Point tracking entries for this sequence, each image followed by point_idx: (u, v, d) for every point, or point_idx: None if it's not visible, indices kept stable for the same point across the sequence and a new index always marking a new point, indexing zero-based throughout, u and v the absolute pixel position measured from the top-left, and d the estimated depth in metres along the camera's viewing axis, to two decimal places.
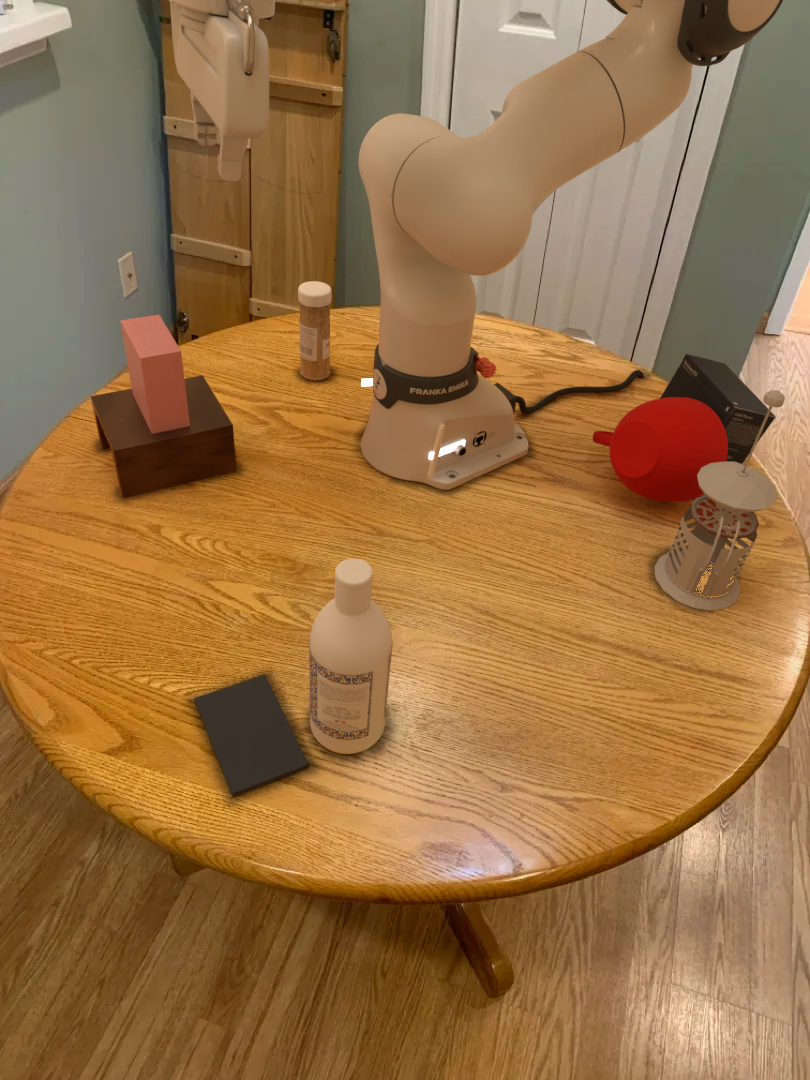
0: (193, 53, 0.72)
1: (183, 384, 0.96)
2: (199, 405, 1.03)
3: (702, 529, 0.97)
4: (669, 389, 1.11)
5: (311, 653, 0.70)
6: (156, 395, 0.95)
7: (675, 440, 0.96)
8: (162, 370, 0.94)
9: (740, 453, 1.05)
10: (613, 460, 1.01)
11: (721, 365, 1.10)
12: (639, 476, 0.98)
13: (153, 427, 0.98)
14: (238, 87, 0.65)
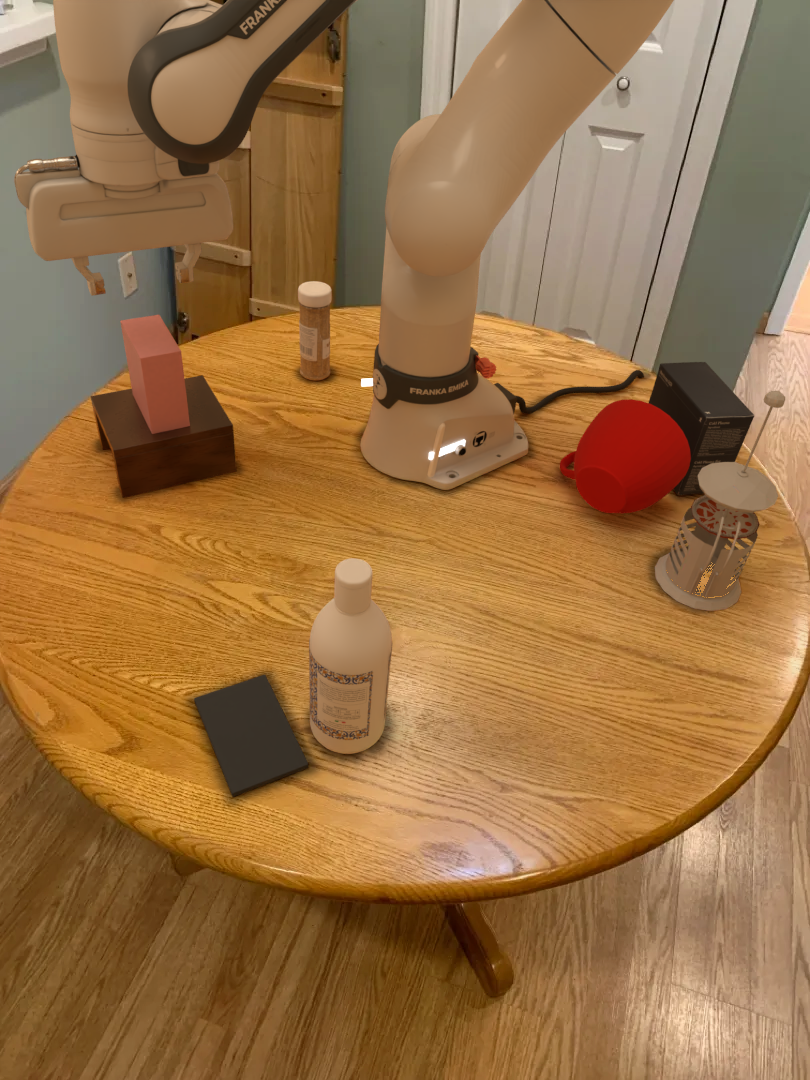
0: None
1: (183, 384, 0.96)
2: (199, 405, 1.03)
3: (703, 529, 0.97)
4: (652, 399, 1.12)
5: (311, 653, 0.70)
6: (156, 395, 0.95)
7: (629, 469, 0.96)
8: (162, 370, 0.94)
9: (727, 455, 1.05)
10: (588, 503, 1.02)
11: (700, 366, 1.09)
12: (618, 510, 0.99)
13: (153, 427, 0.98)
14: (27, 215, 0.82)
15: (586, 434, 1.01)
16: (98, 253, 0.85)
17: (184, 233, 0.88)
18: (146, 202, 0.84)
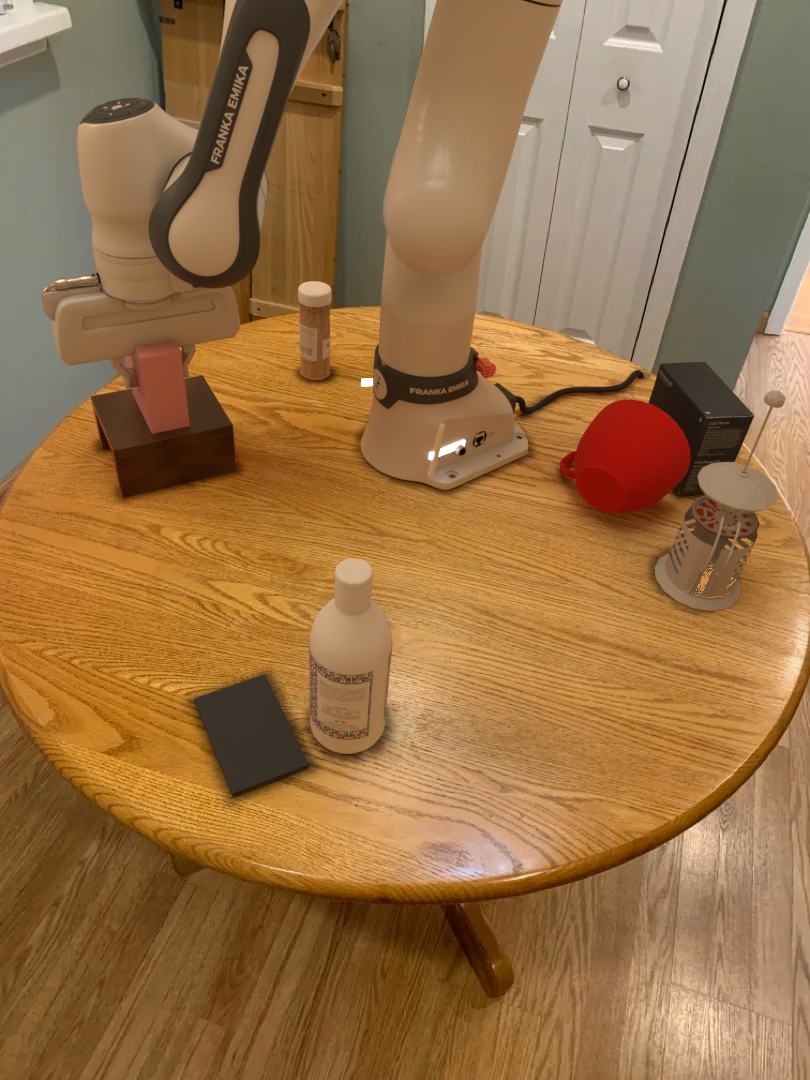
0: None
1: (183, 384, 0.96)
2: (199, 405, 1.03)
3: (703, 529, 0.97)
4: (652, 399, 1.12)
5: (311, 653, 0.70)
6: (156, 395, 0.95)
7: (629, 469, 0.96)
8: (162, 370, 0.93)
9: (727, 455, 1.05)
10: (588, 503, 1.02)
11: (700, 366, 1.09)
12: (618, 510, 0.99)
13: (153, 427, 0.98)
14: (52, 325, 0.90)
15: (586, 434, 1.01)
16: (117, 356, 0.93)
17: (195, 334, 0.96)
18: (161, 310, 0.92)
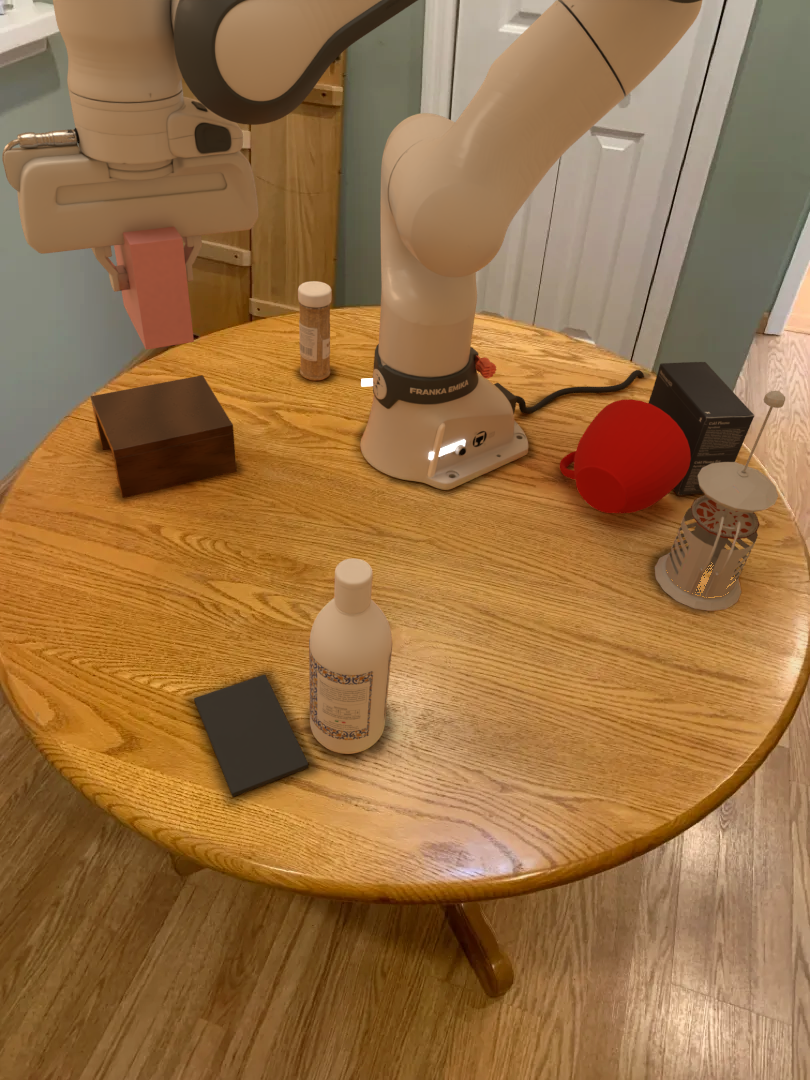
0: None
1: (185, 284, 0.76)
2: (199, 405, 1.03)
3: (703, 529, 0.97)
4: (652, 399, 1.12)
5: (311, 653, 0.70)
6: (150, 296, 0.75)
7: (629, 469, 0.96)
8: (158, 263, 0.73)
9: (727, 455, 1.05)
10: (588, 503, 1.02)
11: (700, 366, 1.09)
12: (618, 510, 0.99)
13: (147, 340, 0.78)
14: (18, 199, 0.70)
15: (586, 434, 1.01)
16: (101, 244, 0.73)
17: (201, 221, 0.76)
18: (157, 185, 0.72)
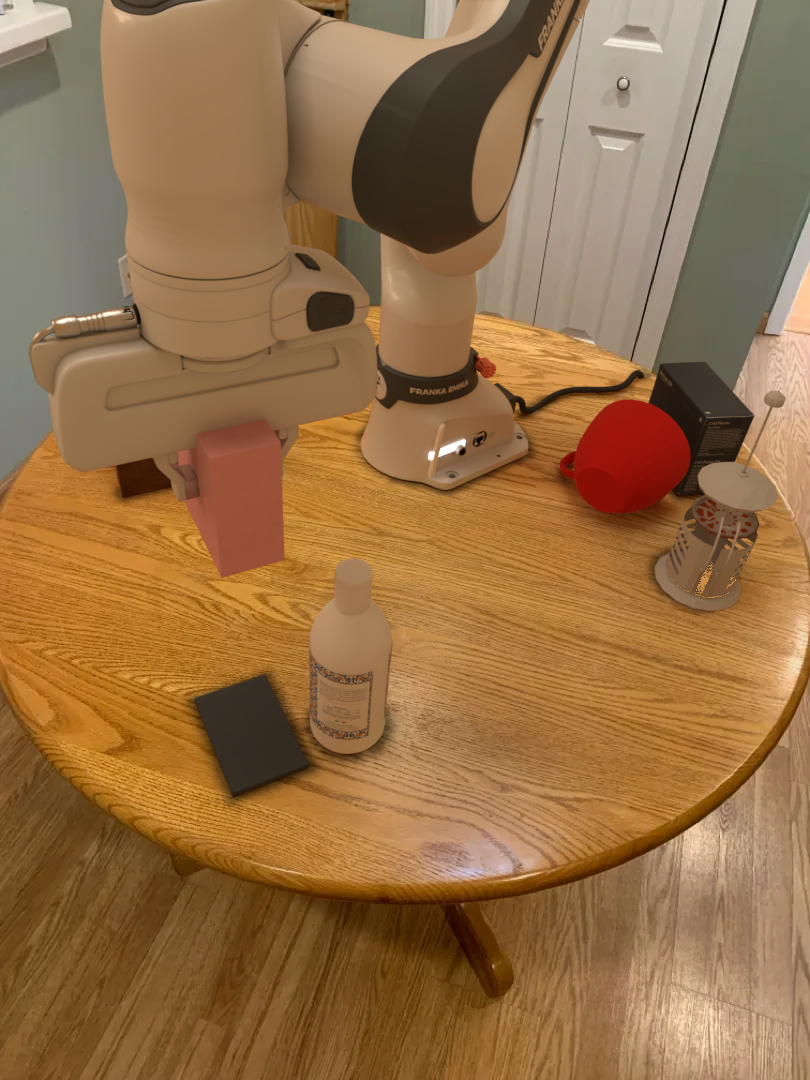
0: None
1: (279, 496, 0.54)
2: None
3: (703, 529, 0.97)
4: (652, 399, 1.12)
5: (311, 653, 0.70)
6: (232, 516, 0.54)
7: (629, 469, 0.96)
8: (247, 475, 0.52)
9: (727, 455, 1.05)
10: (588, 503, 1.02)
11: (700, 366, 1.09)
12: (618, 510, 0.99)
13: (224, 567, 0.56)
14: (50, 400, 0.49)
15: (586, 434, 1.01)
16: (166, 452, 0.52)
17: (302, 409, 0.54)
18: (247, 371, 0.51)
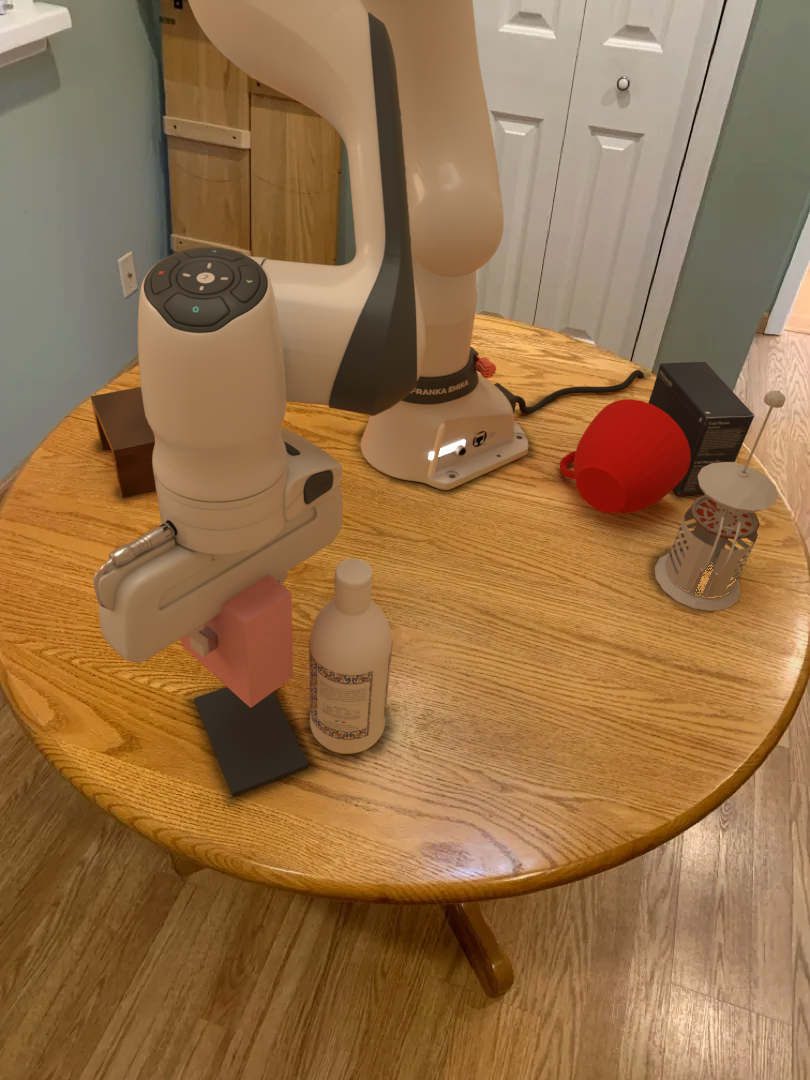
0: None
1: (290, 631, 0.66)
2: None
3: (703, 529, 0.97)
4: (652, 399, 1.12)
5: (311, 653, 0.70)
6: (259, 659, 0.64)
7: (629, 469, 0.96)
8: (269, 625, 0.63)
9: (727, 455, 1.05)
10: (588, 503, 1.02)
11: (700, 366, 1.09)
12: (618, 510, 0.99)
13: (252, 699, 0.67)
14: (104, 613, 0.57)
15: (586, 434, 1.01)
16: (200, 625, 0.61)
17: (293, 558, 0.65)
18: None
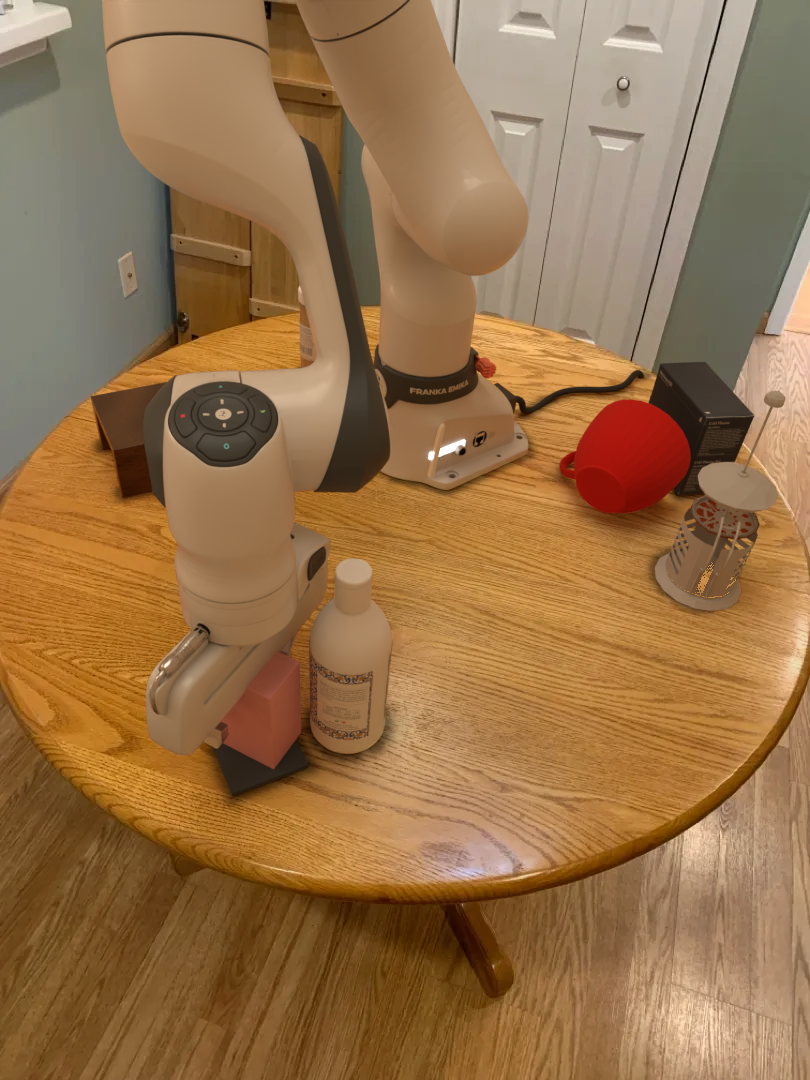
0: None
1: (299, 694, 0.73)
2: None
3: (703, 529, 0.97)
4: (652, 399, 1.12)
5: (311, 653, 0.70)
6: (279, 725, 0.71)
7: (629, 469, 0.96)
8: (285, 694, 0.70)
9: (727, 455, 1.05)
10: (588, 503, 1.02)
11: (700, 366, 1.09)
12: (618, 510, 0.99)
13: (275, 761, 0.73)
14: (154, 718, 0.61)
15: (586, 434, 1.01)
16: None
17: (294, 627, 0.72)
18: None
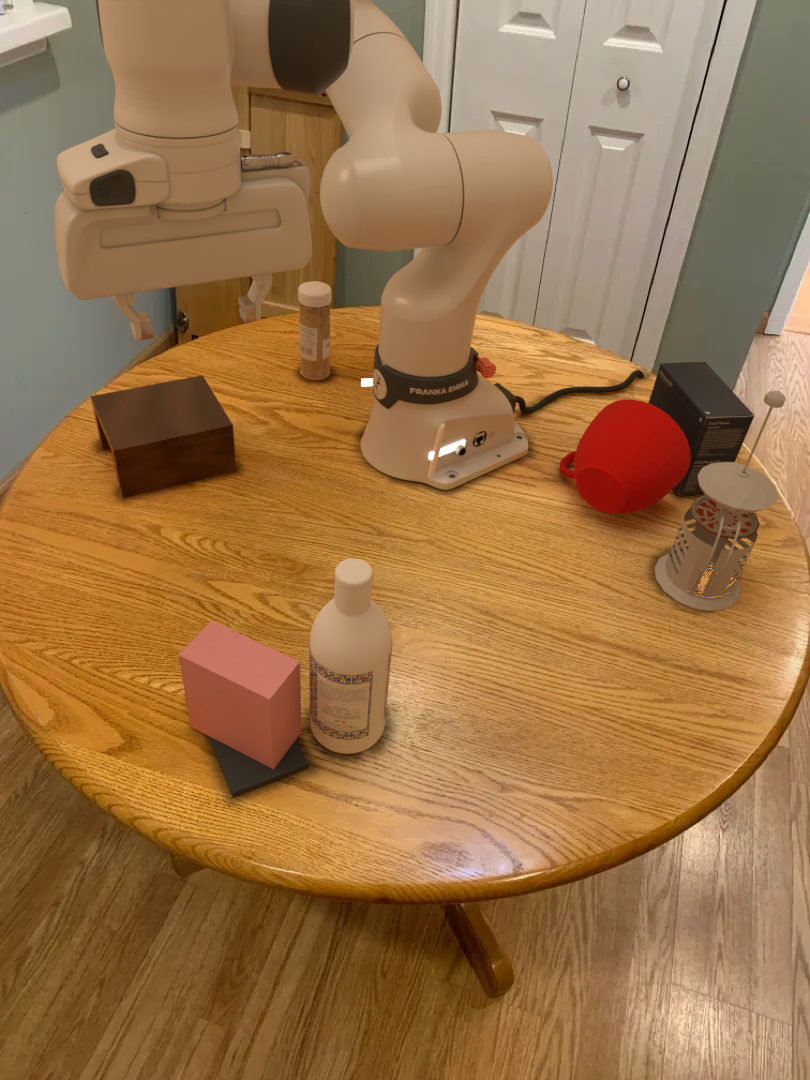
0: (172, 246, 0.66)
1: (299, 694, 0.73)
2: (199, 405, 1.03)
3: (703, 529, 0.97)
4: (652, 399, 1.12)
5: (311, 653, 0.70)
6: (279, 725, 0.71)
7: (629, 469, 0.96)
8: (285, 694, 0.70)
9: (727, 455, 1.05)
10: (588, 503, 1.02)
11: (700, 366, 1.09)
12: (618, 510, 0.99)
13: (275, 761, 0.73)
14: None
15: (586, 434, 1.01)
16: None
17: None
18: None
